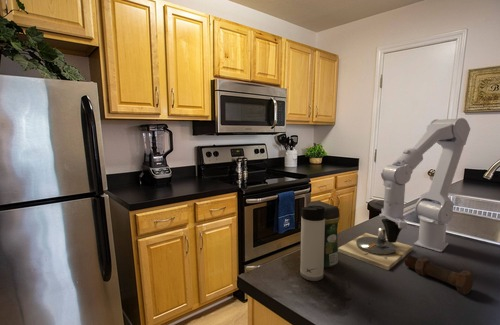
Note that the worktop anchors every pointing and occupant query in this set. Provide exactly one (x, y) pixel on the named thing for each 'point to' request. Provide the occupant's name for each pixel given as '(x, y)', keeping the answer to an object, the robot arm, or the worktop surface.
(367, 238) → the dial
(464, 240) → the worktop surface
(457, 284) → the bolt
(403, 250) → the board
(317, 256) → the travel mug
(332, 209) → the coffee jar
